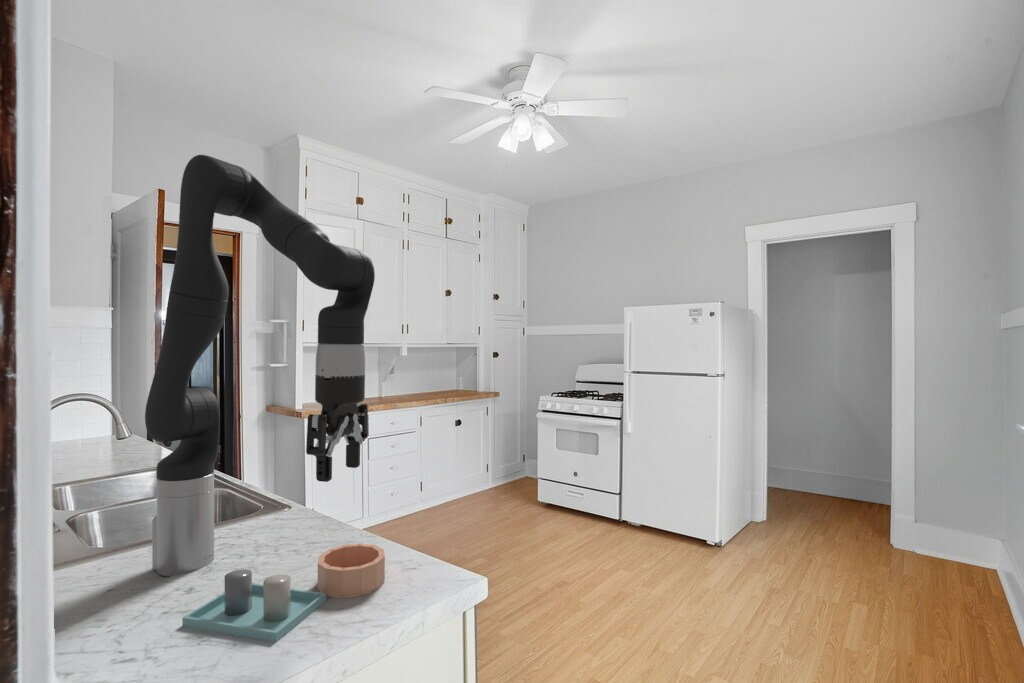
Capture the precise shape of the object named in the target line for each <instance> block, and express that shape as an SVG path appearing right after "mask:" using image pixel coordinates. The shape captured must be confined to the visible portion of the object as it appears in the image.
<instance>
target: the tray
mask: <svg viewBox="0 0 1024 683" xmlns="http://www.w3.org/2000/svg"><path fill="white" fill-rule="evenodd" d="M326 601H327V595H326V593H321V592H320V591H311V590H304V589H297V588H291V614H290V616H289V617H288V618H286V619H284V620H282V621H279V622H266V621H265V620H264V619H263V584H262V583H255V582H252V608H251V610H250V611H248V612H247V613H245V614H242V615H238V616H228V615H226V614H225V591H224V592H222V593H221V594H219V595H217V596H216V597H214V598H212V599H211V600H209V601H207V602H206V603H204V604H202V605H201V606H200V607H198V608H196V609H194V610H193V611H191V612H189V613H187V614H186V615H184V616H183V617H182V627H187V628H191V629H198V630H205V631H209V632H215V633H219V634H220V633H222V634H227V635H234V636H239V637H245V638H250V639H256V640H257V639H258V640H262V641H269V642H274V643H277V642H278V641H280V639H282V638H283V637H284V636H285V635H287V634H288V633H290V631H292V629H294V628H295V627H297V626H298V625H299V624H300V623H301V622H302V621H303V620H305V619H306V618H307V617H309V616H310V615H311V614H312V613H313V612H314V611H316V610H317V609H318V608H319V607H321V606H322V605H323V604H324V603H325V602H326Z"/></svg>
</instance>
